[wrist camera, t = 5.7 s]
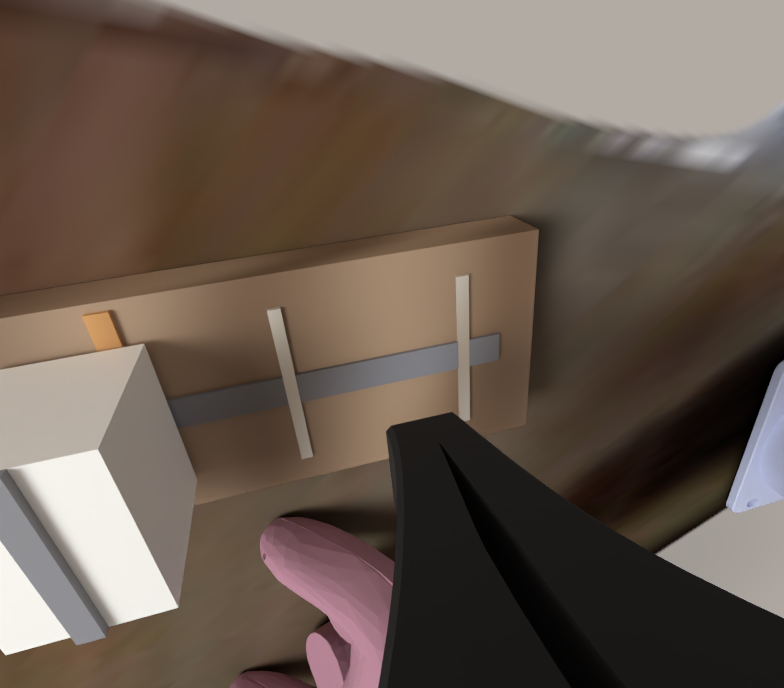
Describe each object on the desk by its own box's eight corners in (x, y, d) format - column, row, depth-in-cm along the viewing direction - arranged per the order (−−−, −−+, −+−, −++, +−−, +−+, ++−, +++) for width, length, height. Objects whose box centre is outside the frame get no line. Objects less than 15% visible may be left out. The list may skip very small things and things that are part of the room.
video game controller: (312, 640, 22) (414, 802, 18) (214, 700, 19) (309, 915, 14) (364, 473, 18) (511, 628, 14) (251, 514, 15) (396, 732, 10)
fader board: (510, 215, 13) (541, 230, 11) (504, 397, 16) (527, 427, 14) (-34, 301, 11) (-77, 333, 9) (77, 495, 13) (56, 541, 12)
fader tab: (144, 343, 10) (94, 457, 7) (197, 479, 12) (177, 617, 9) (-12, 371, 10) (-143, 509, 7) (70, 509, 12) (0, 666, 8)
